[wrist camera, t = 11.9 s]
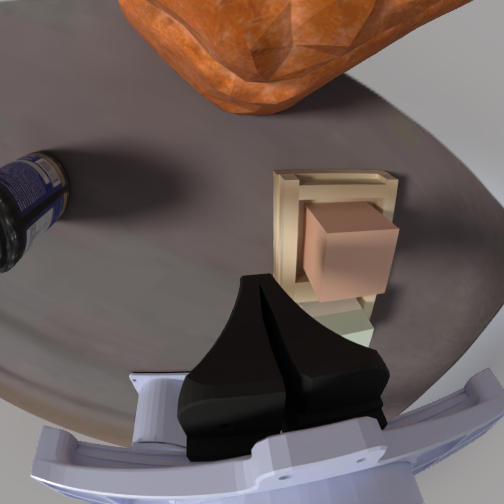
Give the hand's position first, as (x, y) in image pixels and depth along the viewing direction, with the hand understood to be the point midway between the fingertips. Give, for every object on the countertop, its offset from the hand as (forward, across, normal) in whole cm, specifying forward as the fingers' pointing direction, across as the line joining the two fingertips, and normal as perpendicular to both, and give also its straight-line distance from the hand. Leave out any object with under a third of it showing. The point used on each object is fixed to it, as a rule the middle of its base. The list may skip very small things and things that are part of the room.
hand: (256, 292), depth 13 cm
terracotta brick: (+9, -7, +2) cm, 11 cm away
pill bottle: (+10, +16, -4) cm, 19 cm away
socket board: (+10, -7, +6) cm, 14 cm away
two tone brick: (+9, -7, +10) cm, 15 cm away
